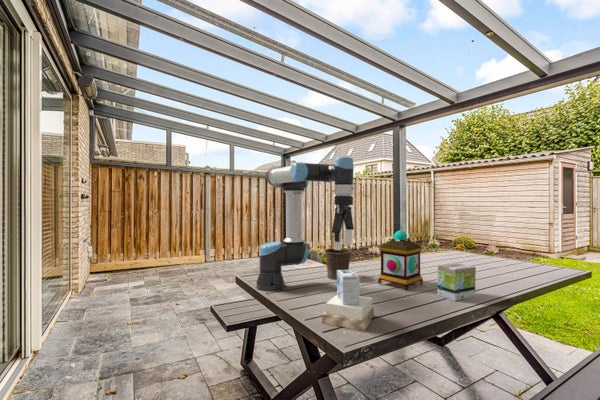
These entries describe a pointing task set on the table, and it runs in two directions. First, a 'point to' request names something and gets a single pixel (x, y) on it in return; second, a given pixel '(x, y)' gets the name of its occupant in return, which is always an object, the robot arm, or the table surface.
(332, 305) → the tower top slab
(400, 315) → the table surface
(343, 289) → the light bulb box
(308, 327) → the table surface
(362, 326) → the tower base slab
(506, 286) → the table surface
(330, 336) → the table surface
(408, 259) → the decorative lantern
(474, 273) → the tea box
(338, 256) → the plant pot
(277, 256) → the robot arm
